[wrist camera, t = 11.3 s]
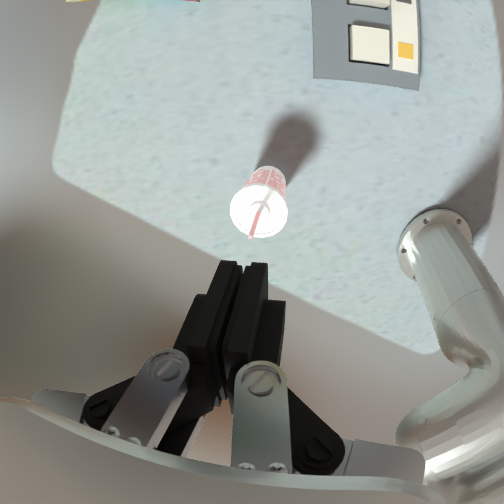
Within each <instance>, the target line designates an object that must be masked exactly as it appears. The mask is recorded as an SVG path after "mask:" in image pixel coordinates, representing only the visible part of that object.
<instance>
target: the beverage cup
mask: <svg viewBox="0 0 504 504" xmlns="http://www.w3.org/2000/svg"><path fill="white" fill-rule="evenodd" d="M287 214H288V207H287V203H286V180H285V177H284V175H283V174H282V172H281V171H280V170H279V169H277V168H275V167H273V166H263V167H259V168H258V169H257V170H256V171H254V173H253V174H252V175H251V177H250V178H249V180H248V181H247V182H246V184H245V185H244V187H243V188H241V189H240V190H239V191H237V193H236V194H235V196H234V198H233V200H232V202H231V204H230V215H231V218H232V220H233V223H234V224H235V225H236V226H237V227H238V228H239V229H240V231H242V232H244V233H245V234H247V235H248V238H249V239H253V237H260V238H263V237H268V236H272V235H274V234H276V233H277V232H279V231H280V230H281V229H282V228H283V226H284V224H285V223H286V221H287Z"/></svg>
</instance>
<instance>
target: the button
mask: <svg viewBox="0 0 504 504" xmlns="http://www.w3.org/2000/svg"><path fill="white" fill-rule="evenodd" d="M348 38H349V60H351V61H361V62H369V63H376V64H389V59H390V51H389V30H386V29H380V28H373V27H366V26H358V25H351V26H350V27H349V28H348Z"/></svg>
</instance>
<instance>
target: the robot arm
mask: <svg viewBox="0 0 504 504" xmlns="http://www.w3.org/2000/svg"><path fill="white" fill-rule="evenodd" d="M471 245H472V235H471V230H470V228H469V225H468V224H467V222H466V221H465V220H464V219H463V217H462V216H461V215H459V214H458V213H456V212H454V211H452V210H448V209H434V210H431V211H427V212H425V213H423V214H421V215H420V216H418V217H417V218H415V219H414V220H413V221H412V222H411V223H410V224H409V225H408V226H407V227H406V229H405V230H404V232H403V233H402V235H401V237H400V240H399V243H398V249H397V256H398V261H399V264H400V267H401V269H402V271H403V272H404V274H405V275H406V276H407V277H409V278H410V279H411V280H414V281H416V282H417V283H418V285H419V288H420V290H421V293H422V296H423V298H424V301H425V304H426V307H427V309H428V312H429V315H430V318H431V321H432V324H433V327H434V330H435V333H436V336H437V339H438V342H439V345H440V348H441V350H442V352H443V354H444V355H445V356H446V357H447V359H448V360H450V361H451V362H453V363H454V364H456V365H458V366H460V367H463V368H465V369H468V370H470V371H469V372H468V374H467V375H466V376H464V377H463V378H462V379H460V380H459V381H457V382H456V383H455V384H454V385H452V386H451V387H449V388H448V389H446V390H445V391H443V392H441V393H440V394H438V395H437V396H435V397H433V398H431V399H430V400H428V401H426V402H425V403H423V404H421V405H420V406H418V407H416V408H415V409H413V410H412V411H410V412H409V413H408V414H406V415H405V416H404V417H403V419H402V420H401V421H400V423H399V425H398V427H397V429H396V433H395V446H392V445H386V444H379V443H374V442H368V441H363V440H358V439H355V440H354V441H351V440H347V439H342V438H340V436H339V435H338V434H337V433H336V432H334V431H333V430H332V429H331V428H330V427H329V426H328V425H327V424H326V423H325V422H323V421H322V420H321V419H320V418H319V417H318V416H317V415H316V414H315V413H314V412H313V411H312V410H311V409H310V408H309V407H308V406H306V405H305V404H304V403H303V402H302V401H301V400H300V399H299V398H298V397H297V396H296V395H295V394H294V393H293V392H292V391H291V390H290V389H289V388H288V387H287V379H286V376H285V373H284V372H283V370H282V369H281V368H280V360H281V359H280V358H281V351H282V343H283V335H284V324H285V306H286V301H278V300H268V264H267V263H257V262H252V263H251V266H246V267H245V270H244V273H243V270H242V266H241V265H237V262H236V261H226V260H221V261H220V263H219V265H218V268H217V270H216V273H215V275H214V277H213V280H212V282H211V285H210V287H209V289H208V292H207V294H197V295H196V297H195V298H194V301H193V303H192V305H191V307H190V310H189V312H188V314H187V316H186V319H185V321H184V323H183V326H182V328H181V330H180V333H179V335H178V337H177V340H176V342H175V344H174V347H173V349H171V348H169V349H162V350H159V351H156V352H155V353H153V354H152V355H150V356H149V358H148V359H147V360H146V361H145V363H144V364H143V366H142V367H141V369H140V370H139V372H138V373H137V375H136V376H134V377H132V378H129V379H127V380H125V381H123V382H121V383H119V384H116V385H114V386H112V387H109V388H107V389H105V390H103V391H100V392H98V393H96V394H94V395H92V396H88V395H87V394H85V393H76V392H68V391H60V390H53V389H42V390H39V391H38V392H37V393H36V394H35V395H34V396H33V398H32V401H31V402H30V401H27V400H24V399H19V398H12V397H6V398H0V504H504V296H503V294H502V292H501V291H500V289H499V287H498V286H497V284H496V282H495V281H494V279H493V278H492V276H491V274H490V273H489V271H488V270H487V268H486V267H485V265H484V263H483V262H482V260H481V259H480V257H479V256H478V255H477V253H476V252H475V250H474V249H473V247H472V246H471ZM227 398H228V399H229V404H230V408H231V413H232V414H233V426H232V446H231V448H232V449H231V467H228V466H222V465H217V464H211V463H207V462H201V461H197V460H192V459H188V458H186V457H187V455H188V453H189V451H190V449H191V447H192V445H193V443H194V441H195V439H196V437H197V435H198V433H199V431H200V429H201V426H202V424H203V422H204V420H205V417H206V414H207V413H208V412H210V411H212V410H213V407H214V406H218V407H220V405H221V401H222V399H225V400H226V399H227Z"/></svg>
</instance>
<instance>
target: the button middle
mask: <svg viewBox="0 0 504 504" xmlns="http://www.w3.org/2000/svg"><path fill="white" fill-rule="evenodd" d="M348 4H350V5H358V6H366V7H373V8H379V9H384V8H386V7H387V6H389V5H390V0H348Z"/></svg>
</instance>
